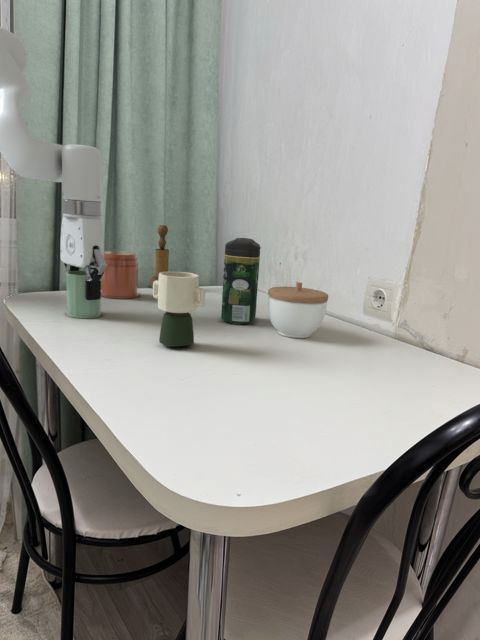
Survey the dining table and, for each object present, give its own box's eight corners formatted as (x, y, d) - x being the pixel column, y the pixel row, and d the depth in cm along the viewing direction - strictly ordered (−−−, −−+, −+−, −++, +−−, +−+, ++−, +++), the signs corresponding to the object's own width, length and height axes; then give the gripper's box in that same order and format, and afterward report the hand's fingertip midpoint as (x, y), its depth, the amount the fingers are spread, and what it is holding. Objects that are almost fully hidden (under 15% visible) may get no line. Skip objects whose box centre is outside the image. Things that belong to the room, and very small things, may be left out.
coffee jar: (223, 314, 121) (228, 235, 116) (256, 317, 121) (262, 238, 116) (218, 323, 111) (223, 237, 106) (253, 326, 111) (260, 241, 106)
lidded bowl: (261, 325, 113) (266, 276, 110) (316, 328, 115) (322, 280, 112) (268, 339, 101) (273, 285, 98) (329, 343, 103) (336, 289, 100)
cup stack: (92, 293, 132) (92, 250, 129) (124, 290, 139) (125, 250, 136) (113, 300, 126) (113, 255, 123) (146, 297, 133) (146, 255, 130)
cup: (61, 313, 109) (60, 271, 106) (90, 310, 114) (89, 270, 111) (77, 319, 104) (76, 276, 102) (106, 316, 109) (106, 274, 107)
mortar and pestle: (145, 287, 148) (146, 223, 143) (156, 284, 154) (158, 223, 149) (165, 290, 146) (167, 226, 141) (176, 287, 152) (178, 225, 147)
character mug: (212, 346, 93) (216, 276, 90) (190, 355, 87) (194, 280, 83) (163, 336, 97) (165, 268, 94) (140, 343, 91) (141, 271, 88)
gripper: (44, 206, 106) (47, 290, 111) (87, 212, 95) (89, 305, 100) (78, 208, 111) (79, 288, 116) (122, 214, 100) (122, 302, 105)
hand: (83, 295), depth 108 cm, fingers closed on cup, 6 cm apart
